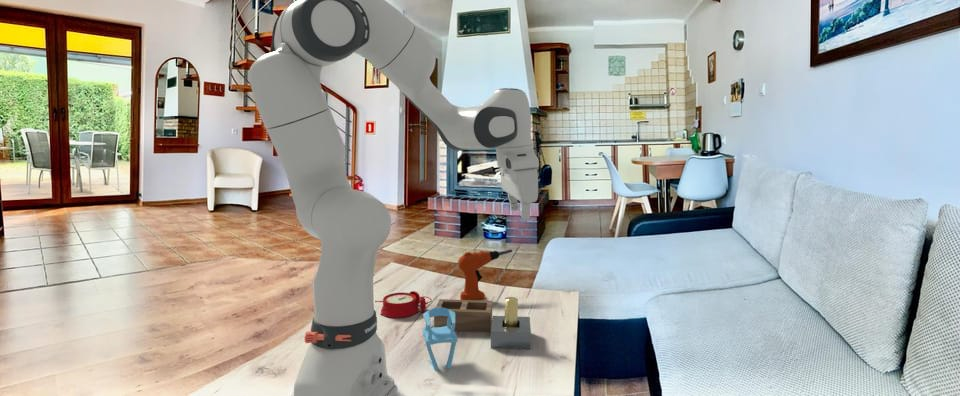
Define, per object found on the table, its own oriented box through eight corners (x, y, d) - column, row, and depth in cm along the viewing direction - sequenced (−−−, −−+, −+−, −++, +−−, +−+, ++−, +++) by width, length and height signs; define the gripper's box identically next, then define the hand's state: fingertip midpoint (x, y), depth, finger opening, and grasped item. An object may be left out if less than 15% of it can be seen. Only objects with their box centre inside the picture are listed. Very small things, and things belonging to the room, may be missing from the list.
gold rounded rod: (517, 343, 104) (517, 301, 103) (504, 342, 104) (504, 301, 103) (517, 337, 107) (517, 297, 106) (504, 336, 107) (504, 296, 106)
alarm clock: (371, 297, 127) (419, 278, 134) (377, 317, 128) (424, 297, 135) (383, 309, 118) (434, 288, 125) (389, 330, 120) (439, 308, 126)
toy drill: (519, 289, 140) (514, 243, 137) (464, 305, 133) (458, 257, 130) (512, 284, 145) (507, 239, 142) (458, 300, 137) (452, 253, 134)
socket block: (530, 353, 101) (530, 332, 101) (490, 352, 102) (490, 331, 101) (529, 336, 110) (529, 316, 109) (492, 335, 111) (492, 315, 110)
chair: (424, 376, 91) (423, 320, 90) (420, 357, 99) (419, 305, 98) (461, 372, 93) (461, 317, 92) (454, 353, 101) (454, 302, 100)
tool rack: (490, 335, 110) (490, 312, 110) (434, 333, 111) (433, 310, 111) (492, 322, 118) (492, 300, 117) (439, 320, 119) (439, 299, 119)
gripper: (492, 155, 117) (497, 207, 119) (513, 163, 97) (518, 225, 100) (516, 152, 118) (520, 204, 120) (541, 160, 98) (545, 221, 101)
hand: (519, 214), depth 110 cm, fingers open, 8 cm apart
